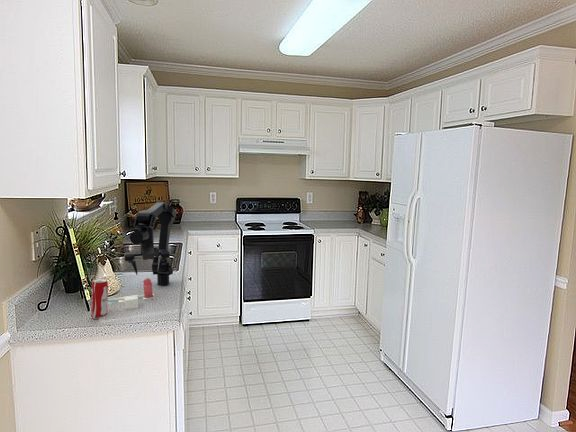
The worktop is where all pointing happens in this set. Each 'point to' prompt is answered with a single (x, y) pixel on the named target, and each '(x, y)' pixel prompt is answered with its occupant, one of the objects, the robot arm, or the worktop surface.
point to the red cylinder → (147, 288)
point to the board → (116, 300)
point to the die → (131, 302)
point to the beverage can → (99, 298)
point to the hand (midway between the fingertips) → (147, 273)
